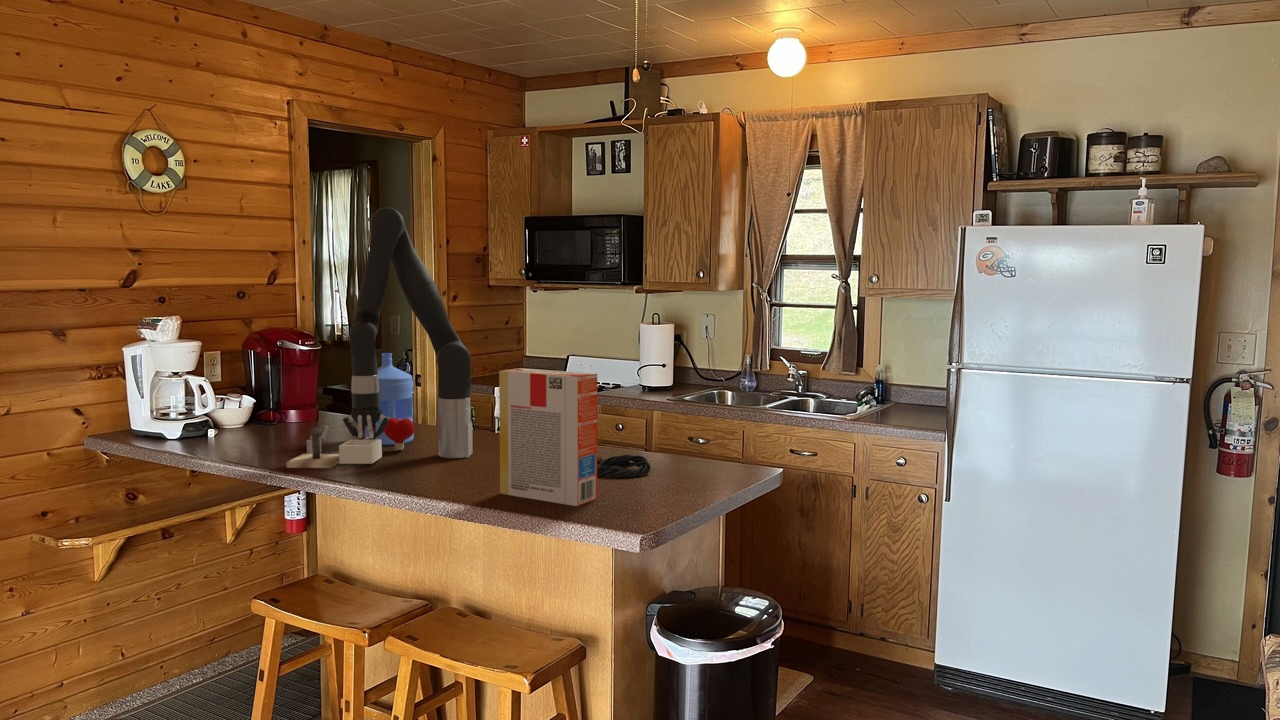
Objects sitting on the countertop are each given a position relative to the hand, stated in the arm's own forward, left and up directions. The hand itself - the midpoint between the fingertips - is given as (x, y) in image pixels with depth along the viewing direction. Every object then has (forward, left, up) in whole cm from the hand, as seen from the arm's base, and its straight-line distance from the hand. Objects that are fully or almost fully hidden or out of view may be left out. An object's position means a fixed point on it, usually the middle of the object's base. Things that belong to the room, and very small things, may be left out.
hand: (367, 450), depth 265 cm
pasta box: (-57, +42, -3) cm, 70 cm away
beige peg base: (+12, +7, -2) cm, 14 cm away
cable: (-73, +15, -3) cm, 74 cm away
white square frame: (0, +4, -2) cm, 5 cm away
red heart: (-6, -12, -3) cm, 14 cm away
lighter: (+17, -8, -3) cm, 19 cm away
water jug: (+2, -28, -3) cm, 29 cm away
